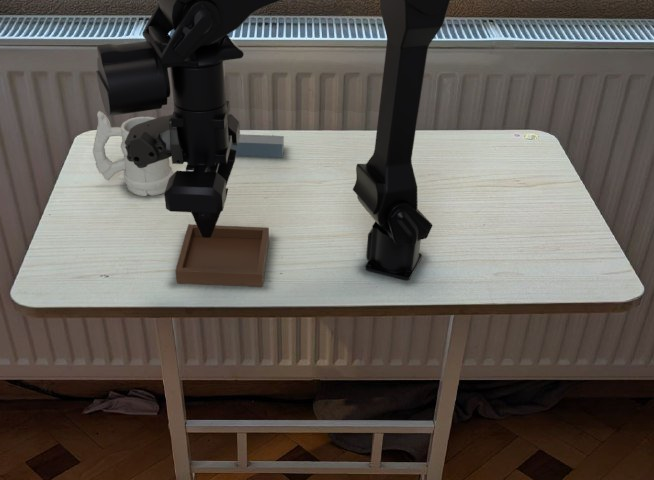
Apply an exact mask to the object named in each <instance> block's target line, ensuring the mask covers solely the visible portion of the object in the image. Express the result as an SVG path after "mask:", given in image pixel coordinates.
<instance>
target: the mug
mask: <svg viewBox="0 0 654 480" xmlns="http://www.w3.org/2000/svg"><path fill="white" fill-rule="evenodd" d="M105 114H106V113H104V112H102V111H100V110H98V111H97V115H96V117H97V126H96V131H95V132H96V133H95V136H94V142H93V148H92V155H93V158H94V161H95V166H96V169H97V171H98V172H99V174H101V175H102V177H103V178H104V180H106V181H110V180H111V179H112V178H113V176H114V175H116V174H117V173H120V172H123V180H124V182H125V184H126V187H127V190H128V191H129V192H130V193H133V194H134V195H138V196H140V197H141V196H142V197H147V196H157V195H161V194H164V193H165V190H166V187H167V184H168V181H169V178H170V177H171V176H172V175H173V174H174V170H173V168H172V166H171V165H170V157H169V158H167V159H164V160H161V161H158V162H155V163H152V164H149V165H147V167H144V168H138V167H137V166H136V165H135V164H134V162H130V161H128V159H127V150H126V148H125V147H126V144H125V140H126V138H127V136H128V134H129V131H130V129H131V128H132V127H134V126H135V125H137V124H140V123H143V122H146V121H149V120H152V119H155V118H156V117H153V116H136V117H132V118H129V119H126V120H125V121H123V122H122V123H121V126H112V124H111V122H110V120H109V118H108V116H107V114H106V115H105ZM110 137H121V143H120V149H121V152H122V154H123V157H124V158H121V159H118V160H115V161H112V160H111V159H110V158H109V157H107V154H106V148H105V146H106V144H107V143H108V140H109V139H110Z"/></svg>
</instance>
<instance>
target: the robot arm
mask: <svg viewBox="0 0 654 480" xmlns="http://www.w3.org/2000/svg"><path fill="white" fill-rule="evenodd" d="M282 1H283V0H158V4H157V6H156V7H155V9H154V11H153V13H152V14H151V16H150V18H149V20H148V22H147V24H146V25H145V27H144V29H143V31H142V36H143V38H144V40H145V41H138V42H137V41H136V42H129V43H122V44H121V43H120V44H115V43H105V44H104V43H103V44H98V45H97V47H96V51H97V64H96V65H97V70H96V71H95V73H96V79H97V84H98V90H99V93H100V98H101V102H102V105H103V108H104V111H105V114H106V116H107V117H112V116H119V115H120V116H121V115H126V114H133V113H139V112H147V111H153V110H160V109H162V108H163V106H166V105H168V98H170V96H171V90H172V101H173V112H172V114H169V115H162V116H158V117H154V118H155V119H152V120H149V121H146V122H143V123H140V124H137V125H135V126H134V127H132V128H131V129H130V131H129V134H128V136H127V138H126V140H125V144H126V147H125V148H126V150H127V159H128V161H130V162H134V164H135V165H136V166H137V167H138V168H144V167H147V165H149V164H152V163H155V162H158V161H161V160H164V159H167V158H169V159H170V158H171V163H172V165H184V164H185V163H186V166H185V170H176V171H174V172H173V175H172V176H171V177H170V178H169V181H168V184H167V187H166V190H165V192H164V193H163V195H164V202H165V203H164V204H165V209H166V210H167V211H169V212H173V213H174V212H176V213H191V215H192V217H193V220H194V222H195V225H197V227H198V229H199V231H200V234H201V236H202V237H203V238H211V236H212V234H213V231H214V228H215V226H216V225H217V223H218V221H219V218H220V215H221V212H224V207H225V203H226V202H227V201H226V200H227V197H228V191H229V188H228V187H227V185H228V182H229V179H230V176H231V173H232V171H233V167H234V164H235V162H236V157H237V156H236V153H237V151H236V150H235V149H230V147H231V136H232V144H233V145H236V146H238V142H239V138H240V134H241V129H240V126H241V125H240V120H238V119H237V118H236V117H235V116H234V115H233V114H231V113H230V110H231V109H230V100H227V89H226V87H227V86H226V70H225V68H226V67H225V61H232V60H238V59H239V60H240V59H242V58H244V55H245V53H244V51H243V50H242V49H241V48H240V46H238V44H237V43H236V42H235V41H234V39H231V38H230V36H229V35H230V34H232V33H233V32H235V31H237V30H238V29H239V28H240V27H241V26H242V25H243V24H244V23H245V22H246V21H247V20H248V19H249V17H250V16H252V15H253V14H254V13H257V12H258V11H260V10H261V9H264V8H266V7H269V6H272V5H274V4H277V3H280V2H282ZM450 2H451V0H379V9H380V13H381V18H382V23H383V25H384V31H385V35H386V48H385V54H384V55H385V56H384V66H383V72H382V73H383V75H382V81H381V92H380V99H379V107H378V117H377V124H376V125H377V126H376V135H375V143H374V151H373V154H372V155H371V157H370V158H369V159H368V161H367V162H366V163H357V164H356V165H355V166H356V167H355V172H356V173H355V174H356V178H355V179H356V180H355V183H354V186H353V188H352V191H353V192H354V193H355V195H356V197H357V199H358V202H359V204H360V205H361V206H362V207H363V208H364V210H365V211H366V212H367V213H368V214H369V215H370V216H371V218H372V219H373V220H374V221H375V222H374V223H373V224H372V225H371V226H372V227H371V229H370V230H369V232H368V234H367V241H366V253H365V254H366V255H365V258H366V259H367V260H368V261H367V263H366V264H365V266H364V269H365V271H368V272H372V273H376V274H380V275H383V276H387V277H391V278H395V279H399V280H403V281H410V279H411V278H412V276H413V274H414V272H415V270H416V269H417V267H418V266H419V264H420V262H421V260H422V257H423V254H421V253H420V251H421V250H420V249H421V242H422V241H421V240H426V239H427V238H428V236H429V234H430V232H431V230H432V228H433V223H432V222H431V221H430V220H429V219H428V218H427V217H426V216H425V215H424V214H423V212H421V211H420V209H418V208H419V207H418V205H419V204H418V201H419V200H418V184H417V180H416V176H415V172H414V168H413V162H412V158H413V152H414V151H413V150H414V145H415V139H416V131H417V124H418V118H419V112H420V104H421V97H422V91H423V85H424V79H425V78H424V77H425V70H426V64H427V58H428V50H429V47H430V44H431V43H432V42H433V40H434V38H435V37H436V36H437V34H439V31H440V30H441V29H442V27H443V26H444V23H445V20H446V16H447V13H448V10H449V6H450ZM172 31H174V32H173V33H172V35H170V33H171V32H172ZM169 69H170V76H169ZM170 81H171V82H170Z"/></svg>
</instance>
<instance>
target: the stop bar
mask: <svg viewBox="0 0 654 480" xmlns="http://www.w3.org/2000/svg"><path fill="white" fill-rule="evenodd" d="M284 139H285V136H284V135H267V134H266V135H265V134H242V133H240V138H239V142H238V146H236V145H233V144H232V136H231V147H230V149H235V150H236V151H237V153H236V157H244V158H245V157H247V158H271V159H272V158H273V159H276V158H277V159H283V158H284V150H285V143H284V142H285V141H284Z"/></svg>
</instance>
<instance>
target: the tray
mask: <svg viewBox="0 0 654 480" xmlns="http://www.w3.org/2000/svg"><path fill="white" fill-rule="evenodd" d="M269 242H270V227H267V226H265V227H262V226H241V225H240V226H239V225H217V224H216V226H215V228H214V231H213V234H212V236H211V238H203V237H202V236H201V234H200V231H199V229H198V227H197V224H193V223H192V224H191V223H189V224H187V228H186V231H185V235H184V240H183V243H182V245H181V250H180V252H179V253H180V254H179V257H178V261H177V264H176V267H175V278H176V279H175V280H176V284H184V285H206V286H208V285H209V286H228V287H229V286H231V287H233V286H234V287H251V288H253V287H255V288H256V287H257V288H262V287H263V285H264V278H265V272H266V271H265V270H266V266H267V265H266V264H267V258H268V250H269V244H270V243H269Z"/></svg>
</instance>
